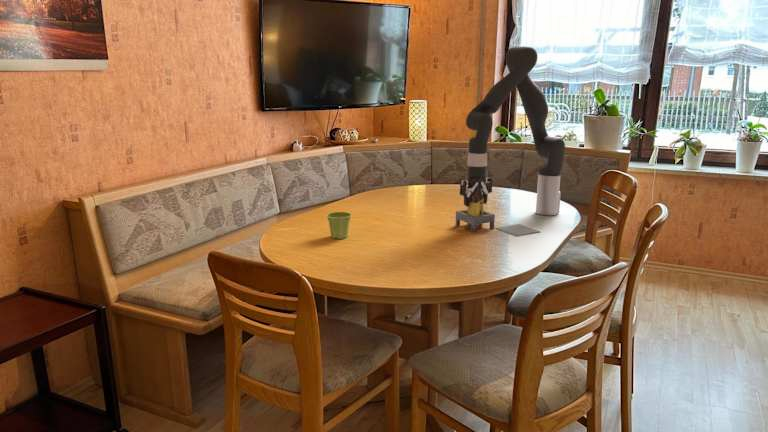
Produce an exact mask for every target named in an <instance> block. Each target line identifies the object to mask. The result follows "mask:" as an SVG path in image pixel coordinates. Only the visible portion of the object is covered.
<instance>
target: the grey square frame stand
mask: <svg viewBox="0 0 768 432" xmlns="http://www.w3.org/2000/svg"><path fill="white" fill-rule="evenodd" d="M495 215H496V214H495V213H492V212H489V211H486V210H483V215H481V216H471V215H469V214H467V209H464V210H463V209H461V210H456V211H455V226H456V227H460V226H461V222H463V223H466V224H467V223H469V224H471V228H470V232H471V233H476V230H477V229H476V225H477V224H482V225H483V224H489V229H490V230H494V229H495V220H496V219H495Z"/></svg>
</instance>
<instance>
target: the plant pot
mask: <svg viewBox="0 0 768 432" xmlns="http://www.w3.org/2000/svg"><path fill="white" fill-rule="evenodd" d="M325 217H326V219H327V221H328V225H329V231H330V236H331V238H332V239H337V240H341V239H342V240H343V239H346V238H347V237H348V235H349V227H350V220H351V218H352V213H350V212H348V211H334V212H333V211H332V212H329V213H327V214H326V215H325Z"/></svg>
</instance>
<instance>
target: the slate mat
mask: <svg viewBox="0 0 768 432" xmlns="http://www.w3.org/2000/svg"><path fill="white" fill-rule="evenodd" d="M495 229H496V230H498V231H501V232H504V233H505V234H506V233H507V234H509V235H512V236H514V237H522V236H526V235H527V236H528V235H533V234H538V233H541V230H538V229H536V228H533V227H529V226H527V225H523V224H521V223H519V224H518V223H517V224H511V225H506V226H505V225H504V226H499V227H495Z"/></svg>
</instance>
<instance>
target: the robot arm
mask: <svg viewBox="0 0 768 432" xmlns="http://www.w3.org/2000/svg"><path fill="white" fill-rule="evenodd" d="M537 62H538V52H537V50H536V49H535V48H534V47H532V46H514V47H510V48H509V49H508V50H507V52H506V54H505V64H506V67H507V69H508V72H509V73H507V74H506V75H505V76H504V77H502V78H501V79H500V80H499V81H497V82H496V83H495V84H494V85H493V86H492V87H491V88H490V89H489V91H488V92H487V94H486V95H485V97H484V98H483V99H482V101H480V102H479V103H478V104H476V106H474V108H472V109H471V111H470V112H468V115H467V116H466V119H465V125H466V127H467V129H469V130H472V131H476V134H475V136H473V137H471V138H470V139H469V141H468V154H467V155H468V156H467V165H466V166H467V170H466V176H467V180H463V179H461V180H460V183H459V195H460V196H462V197H463V205H464V206H465V207H468V206H469V201H470V197H469V196H470V194H471V193H472V192H473V191H475V190H476V187H477V185H478V182H476V179H482V181H481V182H480V185H481V191H482V194H483V197H484V205H487V203H488V195H489V194H490V193H492V192H493V178H492V177H488V176H487V175H488V172H487V171H488V143H489V142H488V141H489V139H490V137H491V136H490V135H491V133H492V129H493V124H494V123H493V122H494V121H493V117H492V116H491V115H493V114H496V113H497V112H498V111H499V110H500V108H501V107H502V105H503V104H504V103H505V101H506V99H507V98H508V97H509V95H510V94H511V93H512V91H513V90H515V88H516V89H517V93H518V94H519V98H520V100H521V103H522V106H523V110H524V112H525V115H526V118H527V122H528V124H529V127H530V131H531V135H532V138H533V143H534V147H535V151H536V153H537V155H538V156H539V157H540V158H544V159H548V160H547V163H546V165H542V166H540V167H539V168H538V176H537V188H536V189H537V190H536V202H535V203H536V205H535V213H536V214H538V215H542V216H555V215H558V214H560V208H561V207H560V206H561V191H560V186H561V185H560V184H561V174H562V173H561V172H562V170H563V166H564V160H565V152H566V143H565V141H564V140H563V139H562V138H560V137H554V136H550V135H548V132H547V129H546V122H547V118H548V114H549V105H548V102H547V100H546V96H545V94H544V92H543V91H542V90H541V88H540V87H539V86H538V85H537V84H536V83H535V81H533V80H532V78H531V76H530V75H529V73H530V72H532V70H533V69H534V68H535V66H536V64H537Z"/></svg>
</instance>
